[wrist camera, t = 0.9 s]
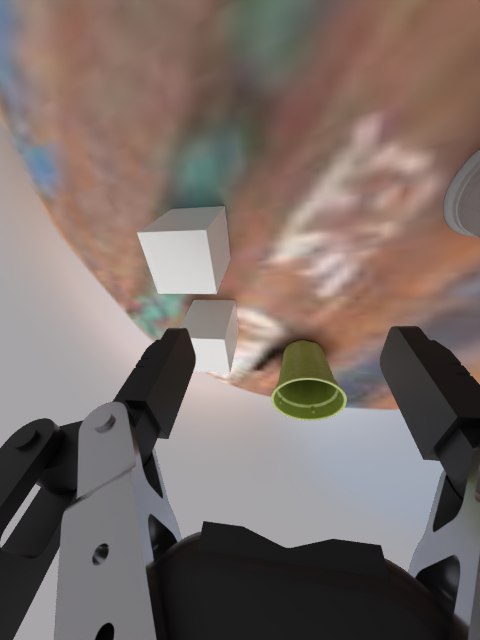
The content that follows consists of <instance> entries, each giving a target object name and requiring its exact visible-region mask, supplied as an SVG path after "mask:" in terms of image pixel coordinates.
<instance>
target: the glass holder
mask: <svg viewBox="0 0 480 640" xmlns="http://www.w3.org/2000/svg"><path fill="white" fill-rule="evenodd" d="M443 212H444V218H445V220H446V223H447V224H448V226H449V227H450V228H451V229H452V230H454V231H455V232H457V233H459V234H462V235H466V236H477V237H479V238H480V149H479V150H478V151H477V152H476V153H474V154H473V155H472V156H471V157H470V158H469V159H468V160H467V161H466V163H465V164H464V165H463V166H462V167H461V169H460V170H459V171H458V172H457V174H456V175H455V177H454V179H453V180H452V182H451V184H450V186H449V188H448V190H447V192H446V196H445V199H444V206H443Z"/></svg>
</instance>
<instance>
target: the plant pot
mask: <svg viewBox="0 0 480 640" xmlns="http://www.w3.org/2000/svg"><path fill="white" fill-rule="evenodd" d="M271 401H272V404H273V406H274V407H275V408H276V409H277V410H278V411H279V412H280V413H282V414H284V415H286V416H288V417H291V418H294V419H299V420H321V419H326V418H329V417H332V416H334V415H336V414H338V413H339V412H340V411H341V410H343V408H344V407H345V405H346V401H347V399H346V395H345V392H344V391H343V390H342V388H341V387H340V386H339V385H338V383H337V382H336V381H335V380H334V377H333V375H332V372H331V370H330V367H329V365H328V362H327V360H326V357H325V355H324V352H323V349H322V348H321V347H320V346H319V345H318V344H317V343H315V342H308V341H305V340H300V341H295V342H293V343H291V344H289V345H288V346H287V347H286V349H285V351H284V354H283V360H282V366H281V371H280V376H279V381H278V383H277V385H276V388H275V389H274V390H273V392H272V396H271Z"/></svg>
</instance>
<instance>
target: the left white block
mask: <svg viewBox="0 0 480 640" xmlns="http://www.w3.org/2000/svg"><path fill="white" fill-rule="evenodd" d="M137 234H138V236H139V239H140V242H141V245H142V248H143V251H144V254H145V256H146V259H147V262H148V265H149V268H150V271H151V274H152V276H153V279H154V282H155V285H156V288H157V291H158V294H217V292H218V290H219V287H220V285H221V282H222V280H223V277H224V275H225V272H226V270H227V267H228V265H229V262H230V260H231V257H230V248H229V239H228V229H227V220H226V211H225V206H216V207H198V208H180V209H171V210H170V211H168V212H167V213H165V214H164V215H162V216H161V217H159V218H158V219H156V220H155V221H154V222H152V223H151V224H149V225H148V226H146V227H145V228H143V229H142V230H140V231H139V232H137Z"/></svg>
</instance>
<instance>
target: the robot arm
mask: <svg viewBox="0 0 480 640" xmlns="http://www.w3.org/2000/svg"><path fill="white" fill-rule="evenodd" d="M195 364H196V355H195V351H194V348H193V345H192V341H191V338H190V335H189V332H188V330H187V329H186V328H168V329H167V330H166V332H165V333H164V335H163V337H162V338H161V340H156V341H155V342H154V343H152V344H151V345H150V346H149V347H148V348H147V349H146V351H145V352H144V354H143V355H142V357H141V360H139V361H138V363H137V364H136V368H134V369H133V371H132V372H131V374H130V376H129V377H128V379H127V380H126V382H125V383H124V385H123V386H122V388H121V389H120V391H119V392H118V394H117V396H116V397H115V399H114V400H113V401H112V402H110V403H106V404H104V405H101V406H99V407H98V408H96V409H95V410H93V411H92V412H91V413H90V414H89V415H88V416H87V417H86V418H85V419H84V420H83V421H79V422H75V423H71V424H67V425H63V426H60V427H58V426H57V425H56V424H55V423H54V422H53V421H52V420H50V419H46V418H43V419H38V420H35V421H32V422H30V423H28V424H26V425H25V426H23V427H22V428H20V429H19V430H17V431H16V432H15V433H14V434H13V435H12V436H11V437H10V438H9V439H8V440H7V441H6V442H5V444H3V446H2V447H1V448H0V539H1V536H2V534H3V532H4V530H5V528H6V527H7V525H8V523H9V522H10V521H11V519H12V517H13V516H14V515H15V513H16V512H17V510H18V509H19V507H20V506H21V504H22V503H23V501H24V500H25V498H26V497H27V495H28V494H29V492H30V491H31V489H32V488H33V486H34V485H35V484H37V485H39V486H40V487H41V488H40V490H39V491H38V493H37V495H36V496H35V498H34V499H33V501H32V502H31V504H30V506H29V507H28V509H27V510H26V512H25V513H24V515H23V516H22V518H21V520H20V521H19V523H18V524H17V526H16V527H15V529H14V530H13V532H12V534H11V535H10V537H9V538H8V540H7V541H6V543H5V544H4V545H3V546H2V548H0V640H13V639H14V637H15V634H16V632H17V631H18V629H19V626H20V625H21V622H22V621H23V619H24V617H25V615H26V613H27V611H28V609H29V607H30V605H31V603H32V601H33V599H34V597H35V595H36V593H37V591H38V589H39V587H40V585H41V583H42V581H43V579H44V577H45V575H46V573H47V571H48V569H49V567H50V565H51V563H52V560H53V559H54V557H55V554H56V553H57V551H58V549H59V547H60V554H59V569H58V584H57V599H56V615H55V631H54V640H480V385H479V383H478V382H477V381H476V380H475V379H474V378H473V377H472V376H470V373H469V372H468V371H467V370H466V368H465V367H464V366H461V363H460V361H459V360H458V359H457V358H456V357H455V356H454V354H453V353H452V352H451V351H450V350H449V349H447V348H446V347H444V346H443V345H441V344H440V343H438V342H437V341H435V340H429V339H428V338H427V336H426V335H425V334H424V333H423V331H422V330H421V329H420V328H419V327H417V326H394V327H391V329H390V330H389V333H388V336H387V339H386V342H385V344H384V347H383V350H382V353H381V356H380V367H381V370H382V373H383V375H384V377H385V379H386V381H387V383H388V386H389V388H390V390H391V392H392V394H393V396H394V398H395V400H396V403H397V405H398V407H399V409H400V411H401V413H402V415H403V417H404V419H405V422H406V424H407V426H408V428H409V430H410V432H411V434H412V436H413V438H414V440H415V443H416V445H417V447H418V449H419V451H420V453H421V455H422V457H423V459H424V460H436V461H440V462H441V464H442V466H443V468H444V471H443V472H442V473H441V476H440V480H439V483H438V487H437V491H436V494H435V498H434V501H433V505H432V509H431V512H430V516H429V520H428V523H427V527H426V530H425V533H424V535H423V538H422V539H421V541H420V542H419V544H418V546H417V548H416V550H415V552H414V554H413V557H412V560H411V563H410V567H409V570H408V572H406V571H405V570H404V569H402V568H401V567H399V566H398V565H396V564H394V563H392V562H391V561H389V560H387V559H385V558H384V556H383V552H382V548H381V545H374V544H367V543H360V542H352V541H345V540H337V539H330V540H326V541H321V542H316V543H312V544H308V545H303V546H298V547H294V548H285V547H282V546H280V545H278V544H276V543H274V542H272V541H270V540H268V539H266V538H265V537H263V536H260V535H258V534H257V533H254V532H253V531H250V530H249V529H246V528H245V527H242V526H235V525H227V524H220V523H213V522H206V521H204V522H203V527H202V531H201V532H197V533H195V534H193V535H190V536H188V537H186V538H184V539H182V538H181V534H180V531H179V527H178V524H177V521H176V518H175V515H174V513H173V511H172V509H171V506H170V504H169V501H168V498H167V495H166V491H165V487H164V483H163V479H162V475H161V471H160V467H159V463H158V459H157V456H156V452H155V449H154V445H155V443H156V440H157V438H163V439H168V438H169V435H170V432H171V430H172V427H173V425H174V422H175V419H176V417H177V413H178V411H179V408H180V406H181V403H182V400H183V398H184V395H185V392H186V390H187V387H188V384H189V381H190V379H191V376H192V373H193V371H194V368H195Z"/></svg>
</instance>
